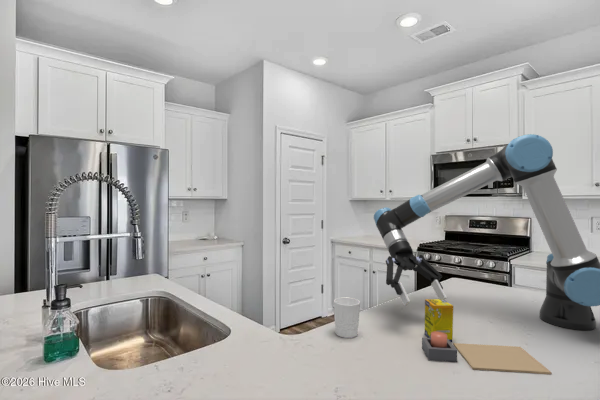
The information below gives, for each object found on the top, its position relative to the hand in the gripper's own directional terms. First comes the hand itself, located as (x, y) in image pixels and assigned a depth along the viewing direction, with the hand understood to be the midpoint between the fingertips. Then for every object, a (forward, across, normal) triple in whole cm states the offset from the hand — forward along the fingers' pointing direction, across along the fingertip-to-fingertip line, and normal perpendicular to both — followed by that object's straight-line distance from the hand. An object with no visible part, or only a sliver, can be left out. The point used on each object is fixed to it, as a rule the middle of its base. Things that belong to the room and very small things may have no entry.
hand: (425, 301), depth 106 cm
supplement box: (+10, -1, -4) cm, 11 cm away
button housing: (+16, +6, +3) cm, 18 cm away
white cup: (+2, +24, -12) cm, 27 cm away
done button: (+15, +6, +4) cm, 17 cm away
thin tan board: (+21, -7, +7) cm, 23 cm away
